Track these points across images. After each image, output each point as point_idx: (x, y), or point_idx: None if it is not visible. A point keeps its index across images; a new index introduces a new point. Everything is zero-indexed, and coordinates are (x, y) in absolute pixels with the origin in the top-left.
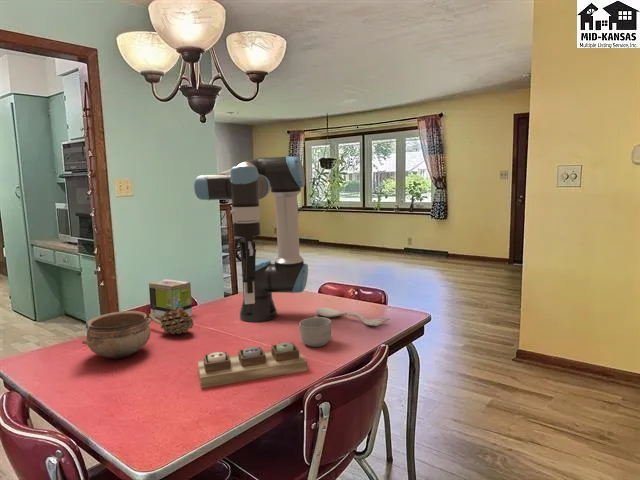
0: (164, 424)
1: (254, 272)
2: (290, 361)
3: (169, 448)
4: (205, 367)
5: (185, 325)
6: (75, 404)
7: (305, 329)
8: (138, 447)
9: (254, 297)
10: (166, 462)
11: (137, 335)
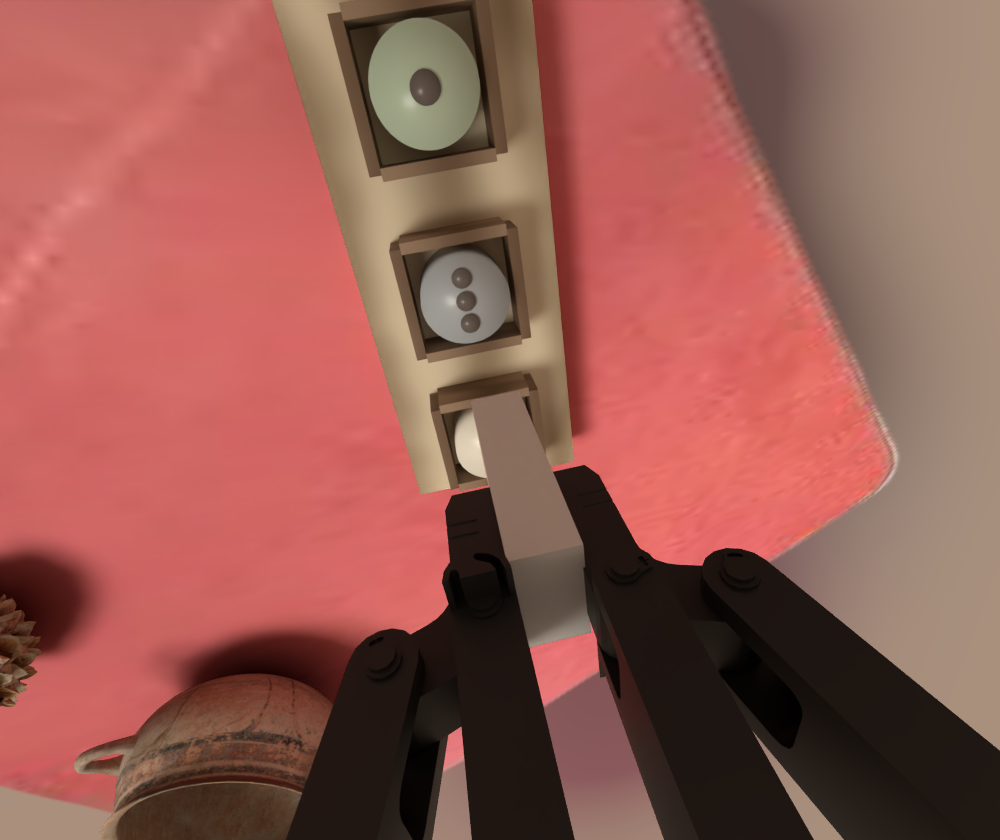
0: (732, 486)
1: (886, 671)
2: (510, 66)
3: (837, 454)
4: None
5: (6, 624)
6: (564, 665)
7: None
8: (799, 510)
9: (530, 421)
10: (883, 449)
11: (292, 728)
